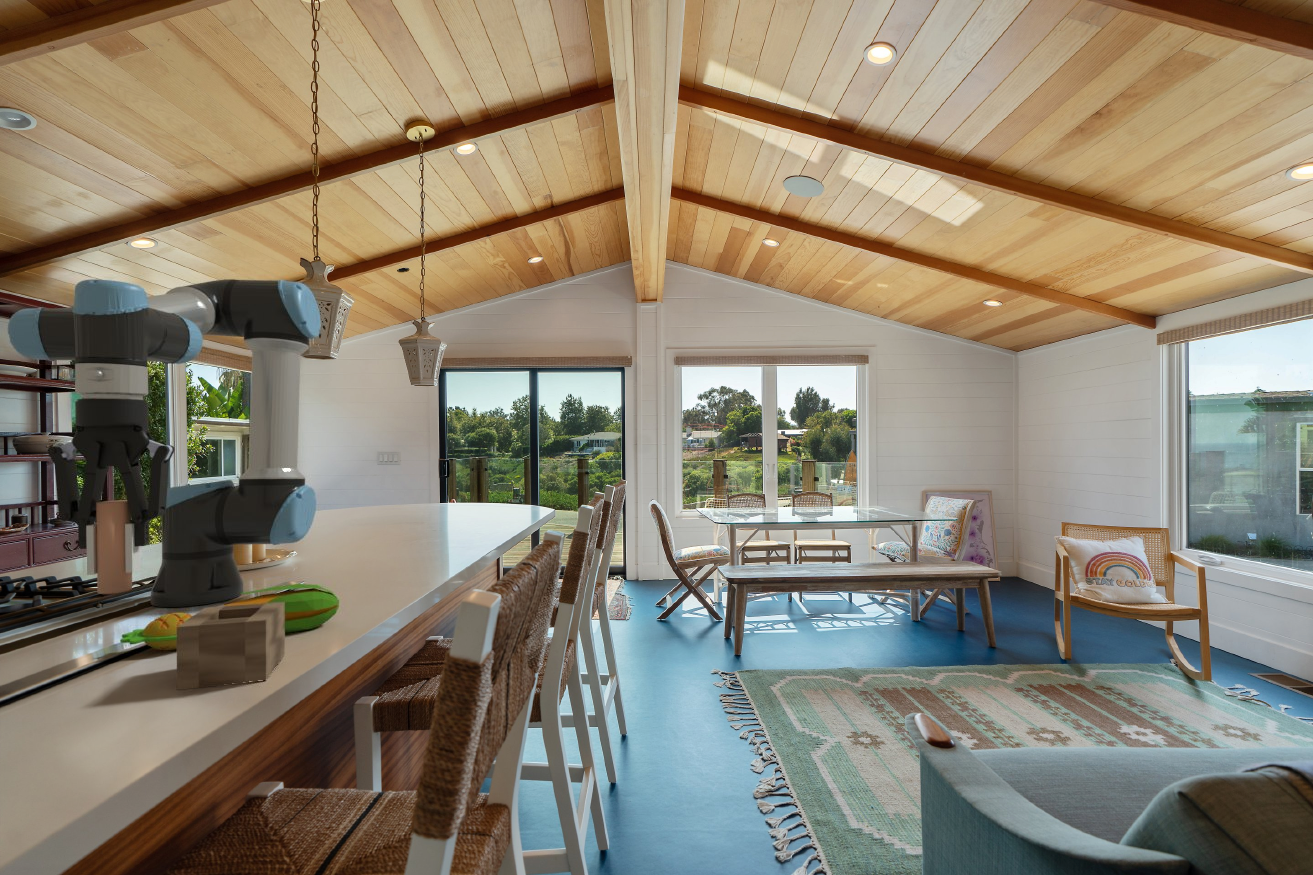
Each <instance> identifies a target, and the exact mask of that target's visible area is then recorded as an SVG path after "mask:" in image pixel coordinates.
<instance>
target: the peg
mask: <svg viewBox="0 0 1313 875" xmlns="http://www.w3.org/2000/svg"><path fill="white" fill-rule="evenodd" d="M96 519H97V521H96V523H97V574H96V575H97V577H96V578H97V579H96V582H97V583H96V584H97V586H96V588H97V589H96V590H97V594H99V595H100V594H101V595H110V594H118V593H123V592H128V591H131V590H133V572H131V573H126V557H125V524H128V523H131V522H130V521H129V520H132V518H131V513H130V509H129V505H128V501H127V499H125V500H124V499H123V500H122V499H121V500H120V499H119V500H105V501H100V502H97V503H96Z"/></svg>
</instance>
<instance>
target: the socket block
mask: <svg viewBox="0 0 1313 875" xmlns="http://www.w3.org/2000/svg"><path fill="white" fill-rule="evenodd" d="M285 636H286V633H285V602H276V603H261V604H247V605H233V606H224V605H221V606H208V607H207V606H206V607H203V608H202V609H200V611H198V612H196V613H195V614H194V615H192V617H191V618H189V619H188V620H186V621H185V622H184V623H182V624H181V625H179V626H178V627H177V649H176V691H179V690H189V689H198V688H200V689H201V688H209V687H218V685H220V686H225V685H224V684H230V685H233V684H232V683H240V684H244V683H243V682H249V681H258V680H266V679H267V678H268V677H269V678H270V676H271V675H272V674H273V672H274V671H275V670H274V668H275V667H276V666H277V664H278V663H279V662H280V660H281V659H282V658H283V657H284V655H285V656H286V652H285V650H286V649H285V648H286V646H285V645H286V642H285V641H286V640H285V639H286V637H285ZM284 658H285V657H284ZM284 658H283V659H284ZM283 659H282V660H283ZM280 663H281V662H280ZM280 663H279V664H280ZM279 664H278V665H279ZM277 667H278V666H277ZM277 667H276V668H277ZM276 668H275V669H276ZM273 670H274V671H273ZM272 671H273V672H272ZM271 673H272V674H271ZM270 674H271V675H270ZM269 675H270V676H269ZM269 678H268V679H269ZM268 679H267V680H268ZM267 680H266V681H267ZM249 683H250V682H249Z"/></svg>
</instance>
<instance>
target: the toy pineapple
mask: <svg viewBox="0 0 1313 875" xmlns="http://www.w3.org/2000/svg"><path fill="white" fill-rule="evenodd" d="M192 616H193V614H191V613H190V614H189V613H185V612H171V613H167V614H163V615H160V616H158V617H157V618H154V619H153V620H152V621H150V622H149V623H148V624H147V625H146V626H145V627H144V628H138V629H137V628H136V629H133V630H132V631H131V632H127V633H122V634H121V638H120V643H122V644H125V643H126V644H128V643H129V645H137V644H140V643H145V644H146V645H147V646H149V647H151V648H152V649H155V650H159V651H160V650H161V651H174V650H177V627H178V626H179V625H181V624H182V623H184V622H185V621H186V620H188V619H189V618H191V617H192Z"/></svg>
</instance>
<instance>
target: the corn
mask: <svg viewBox="0 0 1313 875" xmlns="http://www.w3.org/2000/svg"><path fill="white" fill-rule="evenodd" d="M280 590H283V591H282V592H281V591H280ZM284 590H287V591H284ZM288 590H289V591H288ZM271 591H280V592H274V593H268V594H267V593H266V594H260V595H258V596H253V597H250V598H246V599H243V600H239V601H235V602H231V603H228V604H223V606H233V605H247V604H261V603H276V602H285V634H290V633H289V632H291V633H296V632H295V631H297V632H304V631H310V630H309V629H311V630H314V629H315V628H317V627H319V626H321V625H323V624H324V623H326V622H328V621H329V620H330V619H331V618H332V617H334V616H335V615H336V614H337V612H338V609H339V607H340V605H339V604H340V599H339V598H338V597H337V596H336V595H335V593H334V592H333V591H332V590H329V589H327V588H325V587H323V586H320V585H318V584H310V583H296V584H295V583H294V584H287V585H286V584H285V585H278V586H272V587H267V588H263V589H257V590H252V591H251V590H250V591H247V592H245V591H244V592H243V593H241V595H242V596H243V595H248V594H256V593H260V592H271ZM313 628H314V629H313ZM303 630H304V631H303Z"/></svg>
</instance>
